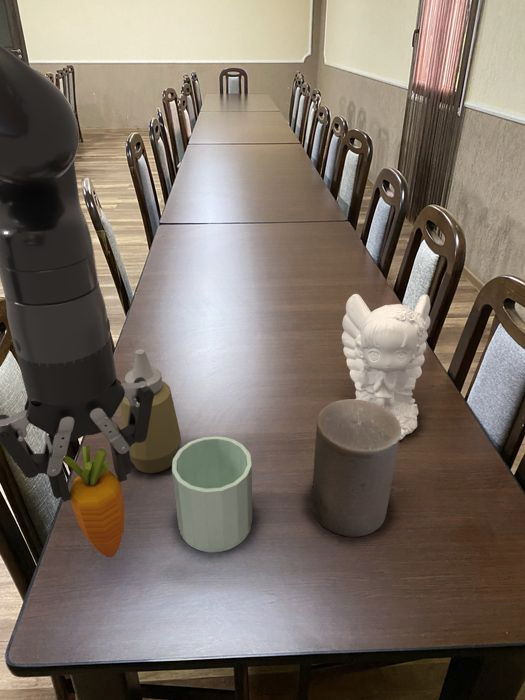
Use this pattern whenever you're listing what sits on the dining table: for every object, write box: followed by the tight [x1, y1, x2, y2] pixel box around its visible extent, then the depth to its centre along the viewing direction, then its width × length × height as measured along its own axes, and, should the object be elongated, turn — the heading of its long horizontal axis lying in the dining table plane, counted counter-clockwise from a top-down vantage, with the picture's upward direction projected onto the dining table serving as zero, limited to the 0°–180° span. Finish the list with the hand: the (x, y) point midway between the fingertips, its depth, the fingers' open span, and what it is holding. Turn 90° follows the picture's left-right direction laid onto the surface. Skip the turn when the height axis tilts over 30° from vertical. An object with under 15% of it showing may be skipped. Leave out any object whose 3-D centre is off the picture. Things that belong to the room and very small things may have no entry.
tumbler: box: [171, 435, 253, 553], centre depth 64 cm, size 9×9×10 cm
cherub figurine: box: [341, 293, 431, 441], centre depth 80 cm, size 13×12×20 cm
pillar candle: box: [310, 398, 401, 538], centre depth 65 cm, size 10×10×15 cm
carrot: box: [63, 444, 126, 558], centre depth 54 cm, size 5×5×15 cm
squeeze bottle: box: [120, 348, 182, 474], centre depth 71 cm, size 8×8×18 cm
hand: (93, 484), depth 53 cm, fingers closed on carrot, 5 cm apart
